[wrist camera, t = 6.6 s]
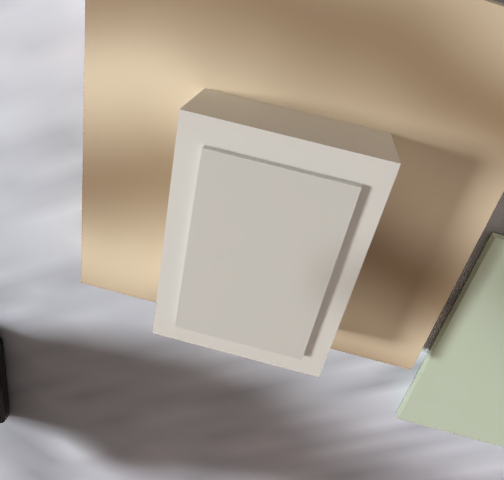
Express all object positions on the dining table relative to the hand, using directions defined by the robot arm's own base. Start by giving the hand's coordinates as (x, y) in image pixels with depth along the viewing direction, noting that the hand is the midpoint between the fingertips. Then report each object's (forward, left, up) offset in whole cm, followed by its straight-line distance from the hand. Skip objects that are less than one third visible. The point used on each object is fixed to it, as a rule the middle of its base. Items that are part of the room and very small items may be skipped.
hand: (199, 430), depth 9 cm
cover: (0, 0, -9) cm, 9 cm away
